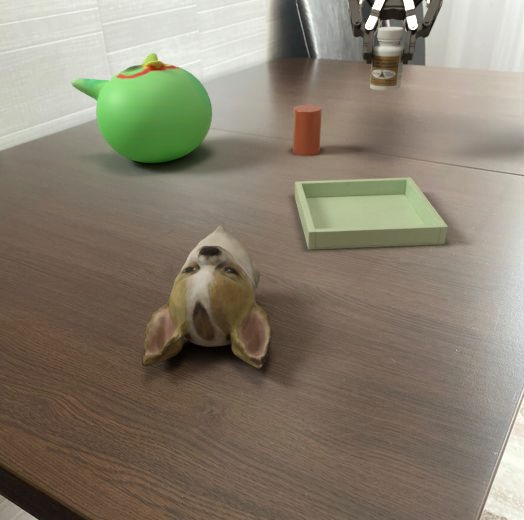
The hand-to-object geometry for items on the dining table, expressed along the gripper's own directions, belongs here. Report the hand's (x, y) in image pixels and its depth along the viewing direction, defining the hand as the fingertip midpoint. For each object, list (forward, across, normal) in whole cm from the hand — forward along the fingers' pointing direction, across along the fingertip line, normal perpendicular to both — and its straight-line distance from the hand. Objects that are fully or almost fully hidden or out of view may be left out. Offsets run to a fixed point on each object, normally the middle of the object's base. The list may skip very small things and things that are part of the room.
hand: (387, 60), depth 77 cm
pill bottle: (+2, 0, +4) cm, 5 cm away
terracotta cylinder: (+8, -12, +12) cm, 19 cm away
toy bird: (+12, -35, +8) cm, 38 cm away
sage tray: (+26, -1, -5) cm, 26 cm away
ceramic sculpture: (+45, -12, -24) cm, 52 cm away
